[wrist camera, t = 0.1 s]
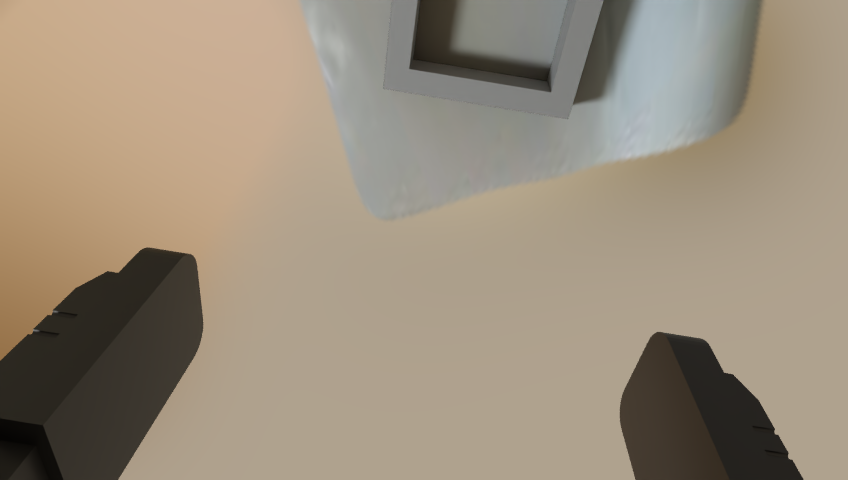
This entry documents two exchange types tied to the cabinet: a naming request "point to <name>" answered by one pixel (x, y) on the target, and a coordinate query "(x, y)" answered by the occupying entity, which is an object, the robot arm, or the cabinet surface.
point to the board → (491, 86)
